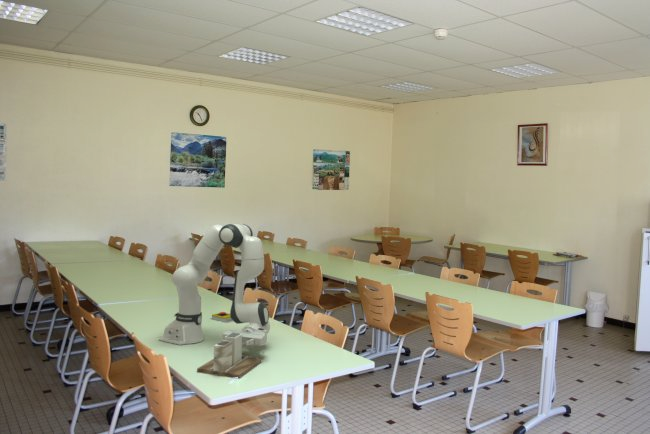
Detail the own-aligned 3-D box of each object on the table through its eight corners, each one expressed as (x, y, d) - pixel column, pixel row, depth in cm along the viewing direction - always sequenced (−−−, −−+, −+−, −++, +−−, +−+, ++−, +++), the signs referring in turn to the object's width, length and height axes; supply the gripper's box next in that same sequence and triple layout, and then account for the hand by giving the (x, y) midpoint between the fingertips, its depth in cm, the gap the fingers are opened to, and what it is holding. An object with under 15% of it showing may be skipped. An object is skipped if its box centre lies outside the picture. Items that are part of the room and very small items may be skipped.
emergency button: (220, 309, 326) (238, 313, 318) (220, 316, 326) (238, 320, 318) (209, 312, 319) (227, 316, 310) (209, 319, 319) (227, 324, 310)
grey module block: (224, 363, 237) (224, 336, 236) (231, 358, 243) (232, 332, 243) (234, 365, 235) (234, 337, 235) (241, 360, 242) (242, 333, 241)
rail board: (197, 371, 230) (197, 342, 229) (222, 356, 251) (222, 329, 250) (239, 378, 224) (240, 348, 223) (261, 362, 244) (262, 334, 244)
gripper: (230, 325, 258) (216, 332, 245) (269, 330, 252) (257, 338, 239) (230, 338, 258) (215, 346, 245) (269, 343, 252) (256, 352, 239)
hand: (236, 342), depth 242 cm, fingers open, 8 cm apart
